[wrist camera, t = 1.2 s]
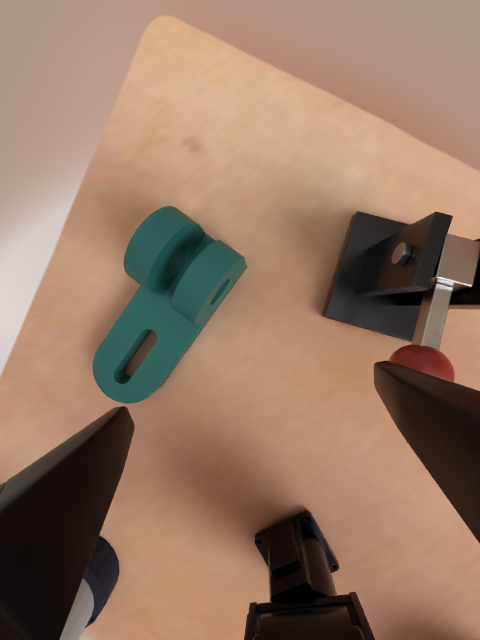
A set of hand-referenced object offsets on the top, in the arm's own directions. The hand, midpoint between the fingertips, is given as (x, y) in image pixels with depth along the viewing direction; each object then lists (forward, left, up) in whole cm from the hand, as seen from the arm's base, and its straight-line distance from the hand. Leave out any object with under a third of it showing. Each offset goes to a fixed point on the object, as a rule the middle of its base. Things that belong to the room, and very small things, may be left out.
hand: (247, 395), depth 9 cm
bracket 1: (+6, +7, -17) cm, 19 cm away
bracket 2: (-1, -14, -16) cm, 21 cm away
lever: (-4, -11, -10) cm, 15 cm away
